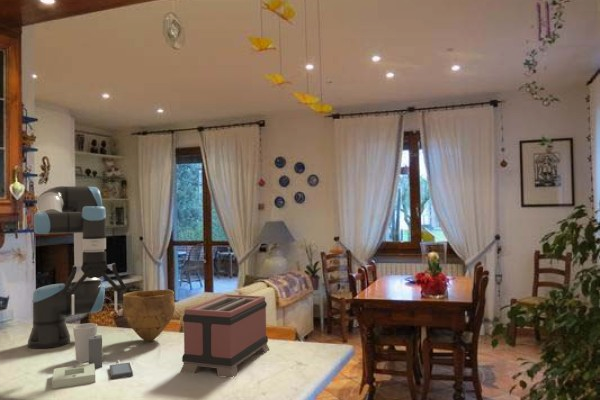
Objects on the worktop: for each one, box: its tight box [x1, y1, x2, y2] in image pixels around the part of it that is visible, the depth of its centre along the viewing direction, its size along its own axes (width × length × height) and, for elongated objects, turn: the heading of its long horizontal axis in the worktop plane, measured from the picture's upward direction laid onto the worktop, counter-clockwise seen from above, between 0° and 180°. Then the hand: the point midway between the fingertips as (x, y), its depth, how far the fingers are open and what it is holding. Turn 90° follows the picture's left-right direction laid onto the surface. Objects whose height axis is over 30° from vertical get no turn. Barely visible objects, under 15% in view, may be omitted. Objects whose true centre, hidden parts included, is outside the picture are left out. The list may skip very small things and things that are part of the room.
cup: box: [72, 322, 98, 363], centre depth 175 cm, size 8×8×12 cm
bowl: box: [122, 289, 176, 342], centre depth 198 cm, size 21×20×20 cm
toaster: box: [180, 293, 270, 378], centre depth 174 cm, size 19×34×21 cm, turn 161°
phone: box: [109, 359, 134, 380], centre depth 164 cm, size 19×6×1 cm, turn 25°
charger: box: [88, 334, 103, 369], centre depth 167 cm, size 4×4×10 cm
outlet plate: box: [51, 363, 96, 389], centre depth 155 cm, size 12×12×3 cm
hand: (94, 312), depth 167 cm, fingers open, 13 cm apart
